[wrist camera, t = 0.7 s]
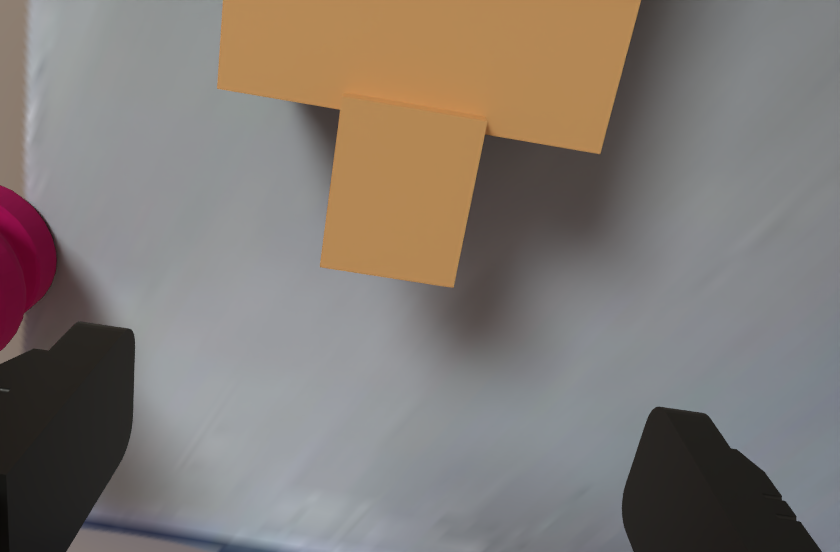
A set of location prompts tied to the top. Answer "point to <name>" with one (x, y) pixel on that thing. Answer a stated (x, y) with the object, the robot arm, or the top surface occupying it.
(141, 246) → the top surface
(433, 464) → the top surface
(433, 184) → the wooden paddle board
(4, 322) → the pepper mill
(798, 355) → the top surface
